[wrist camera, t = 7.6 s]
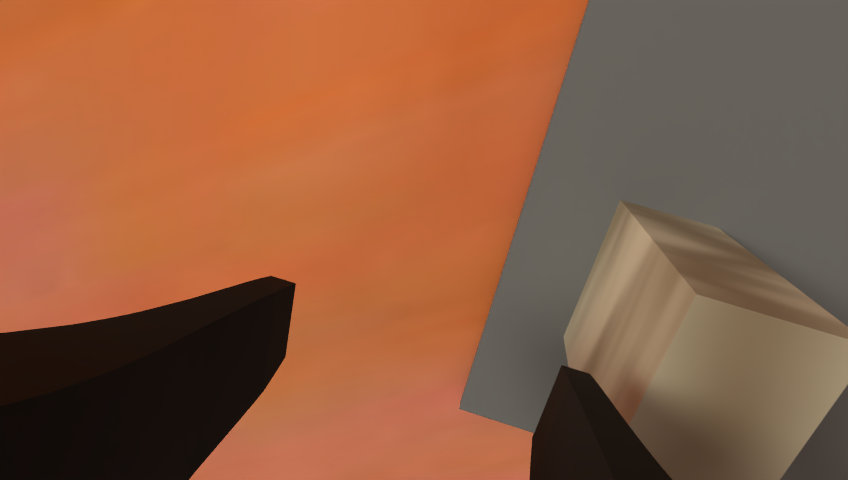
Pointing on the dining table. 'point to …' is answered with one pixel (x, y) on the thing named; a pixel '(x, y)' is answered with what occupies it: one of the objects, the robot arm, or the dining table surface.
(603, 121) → the mat
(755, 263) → the light wood block
